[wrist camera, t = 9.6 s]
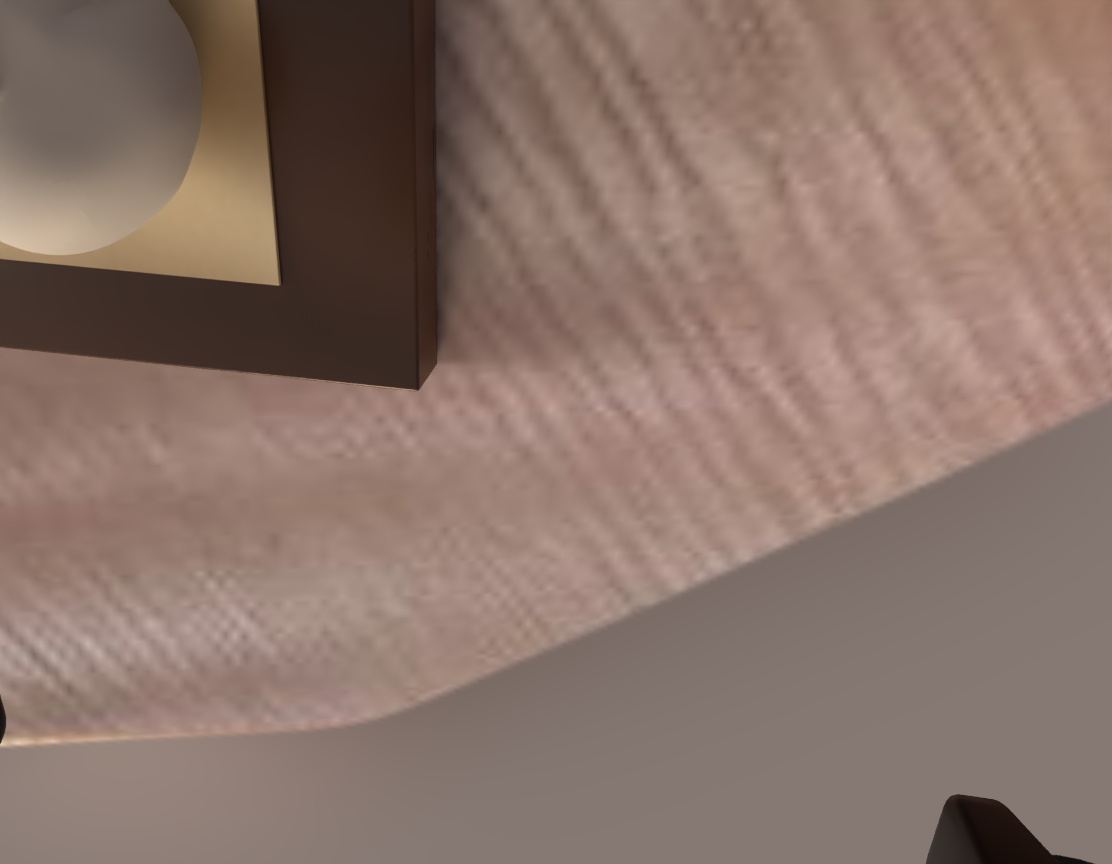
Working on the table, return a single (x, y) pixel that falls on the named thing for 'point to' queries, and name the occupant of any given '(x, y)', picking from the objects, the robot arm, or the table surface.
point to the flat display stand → (273, 211)
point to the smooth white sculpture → (92, 119)
